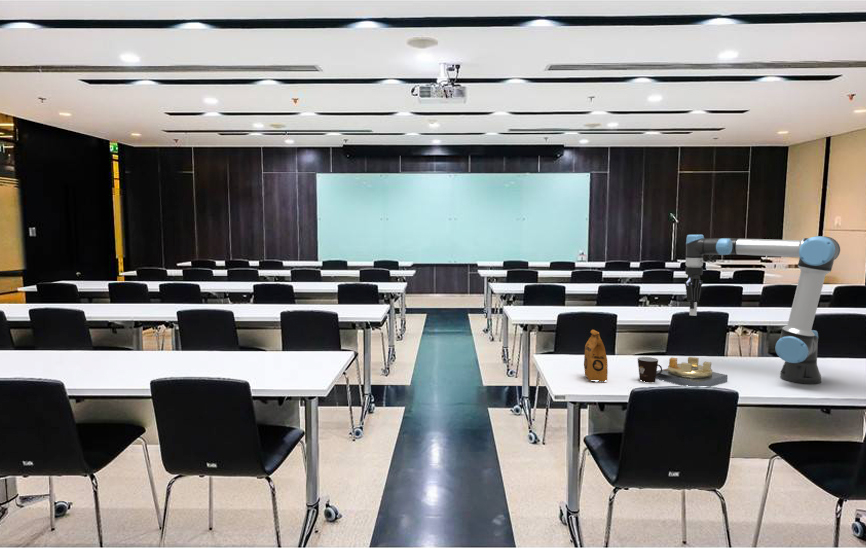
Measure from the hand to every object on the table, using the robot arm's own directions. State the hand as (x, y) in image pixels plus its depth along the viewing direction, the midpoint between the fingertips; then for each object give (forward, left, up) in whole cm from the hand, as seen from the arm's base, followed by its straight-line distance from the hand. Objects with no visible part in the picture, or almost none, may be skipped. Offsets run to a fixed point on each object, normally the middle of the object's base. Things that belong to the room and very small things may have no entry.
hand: (693, 315), depth 259 cm
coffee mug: (-3, +37, -27) cm, 46 cm away
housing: (-11, +19, -26) cm, 34 cm away
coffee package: (+13, +53, -27) cm, 61 cm away
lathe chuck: (-11, +19, -23) cm, 32 cm away
